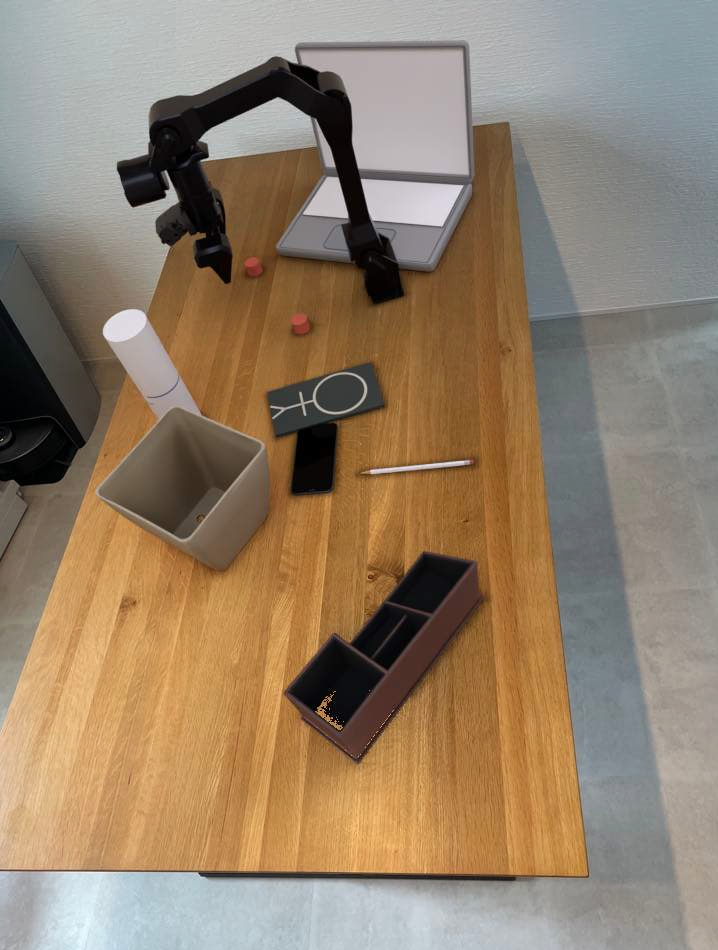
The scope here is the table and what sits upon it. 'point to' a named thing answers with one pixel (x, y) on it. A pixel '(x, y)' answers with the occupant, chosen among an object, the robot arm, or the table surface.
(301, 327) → the dot
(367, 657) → the desk organizer
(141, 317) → the cylindrical container
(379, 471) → the pencil
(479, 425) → the table surface
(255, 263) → the dot
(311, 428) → the smartphone
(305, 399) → the board
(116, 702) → the table surface
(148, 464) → the flower pot
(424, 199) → the laptop
